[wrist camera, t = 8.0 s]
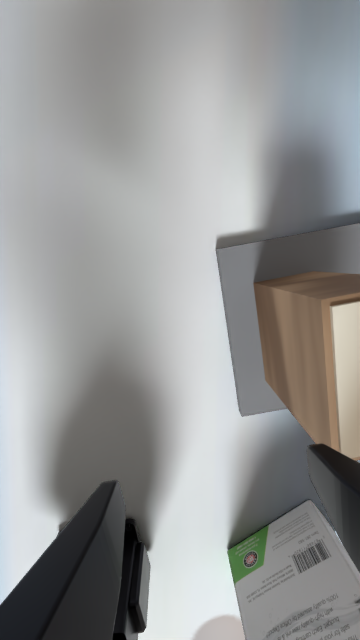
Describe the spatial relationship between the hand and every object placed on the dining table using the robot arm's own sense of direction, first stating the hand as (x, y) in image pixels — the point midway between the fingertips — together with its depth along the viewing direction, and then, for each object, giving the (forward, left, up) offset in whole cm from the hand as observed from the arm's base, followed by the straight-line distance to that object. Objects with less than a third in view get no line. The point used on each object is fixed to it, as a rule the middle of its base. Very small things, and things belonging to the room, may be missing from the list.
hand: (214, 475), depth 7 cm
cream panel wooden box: (+7, 0, -11) cm, 13 cm away
